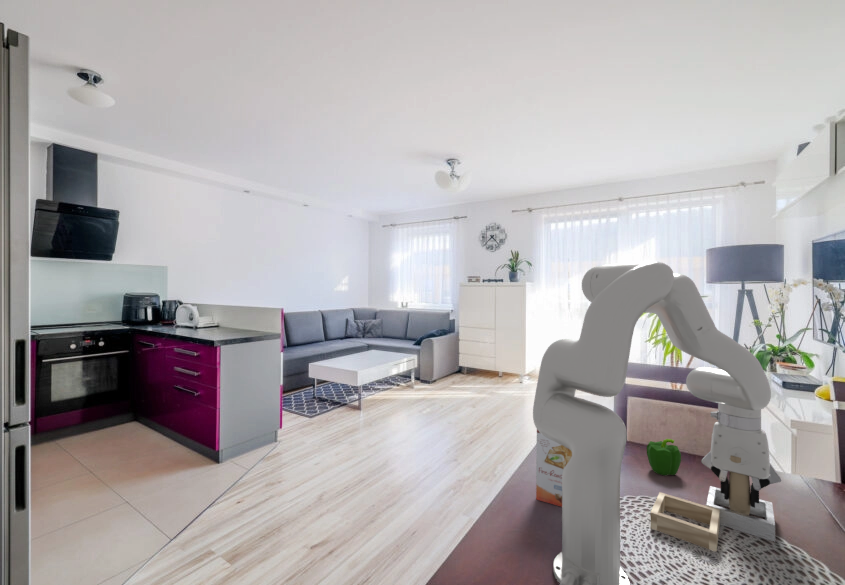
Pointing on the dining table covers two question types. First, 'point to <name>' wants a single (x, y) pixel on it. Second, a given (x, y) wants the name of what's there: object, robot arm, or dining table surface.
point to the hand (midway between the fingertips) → (739, 500)
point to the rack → (683, 528)
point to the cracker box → (550, 469)
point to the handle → (739, 490)
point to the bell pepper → (664, 457)
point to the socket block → (744, 516)
